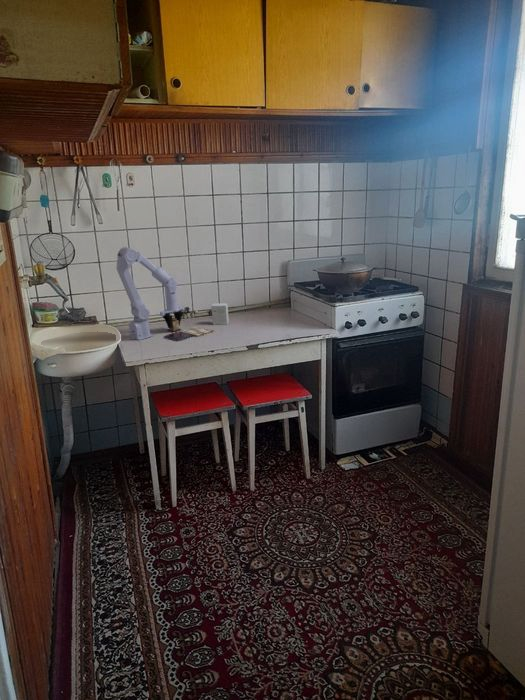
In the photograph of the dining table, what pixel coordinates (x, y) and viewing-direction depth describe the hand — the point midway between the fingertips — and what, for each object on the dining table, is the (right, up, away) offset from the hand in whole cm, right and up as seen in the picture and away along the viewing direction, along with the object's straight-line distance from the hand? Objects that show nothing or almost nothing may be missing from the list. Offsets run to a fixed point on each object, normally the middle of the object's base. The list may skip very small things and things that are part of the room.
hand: (174, 326), depth 254 cm
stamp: (0, -2, +1) cm, 2 cm away
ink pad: (+4, -6, -11) cm, 13 cm away
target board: (+12, -3, -3) cm, 13 cm away
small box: (+23, +2, +12) cm, 26 cm away
